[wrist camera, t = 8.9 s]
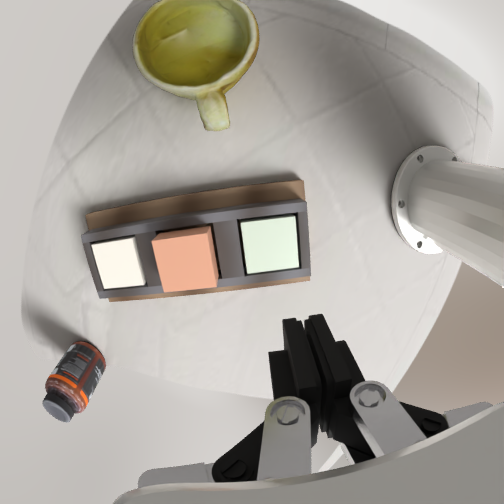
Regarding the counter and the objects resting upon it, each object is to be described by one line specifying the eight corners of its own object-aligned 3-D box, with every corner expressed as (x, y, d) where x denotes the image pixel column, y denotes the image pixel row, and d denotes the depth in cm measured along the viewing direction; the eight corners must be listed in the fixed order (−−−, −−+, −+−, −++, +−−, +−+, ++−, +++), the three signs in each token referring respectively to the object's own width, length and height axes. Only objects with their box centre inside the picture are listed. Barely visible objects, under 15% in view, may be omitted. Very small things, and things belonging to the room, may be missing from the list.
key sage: (290, 211, 25) (295, 216, 23) (294, 257, 27) (298, 267, 25) (240, 217, 26) (240, 223, 23) (246, 263, 27) (247, 273, 25)
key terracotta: (210, 225, 24) (206, 233, 21) (218, 275, 25) (216, 287, 23) (159, 233, 24) (151, 241, 21) (170, 280, 25) (164, 292, 23)
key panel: (300, 179, 26) (309, 182, 22) (307, 275, 29) (315, 290, 26) (90, 212, 26) (73, 220, 23) (113, 297, 29) (101, 312, 26)
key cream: (140, 231, 26) (132, 238, 23) (151, 274, 27) (144, 285, 25) (102, 238, 26) (91, 245, 23) (113, 279, 27) (104, 288, 25)
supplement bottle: (66, 337, 31) (27, 389, 20) (99, 340, 31) (62, 399, 21) (80, 369, 33) (50, 421, 22) (112, 373, 33) (85, 432, 22)
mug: (136, 22, 18) (134, -18, 10) (236, 19, 21) (278, -14, 13) (139, 133, 24) (134, 143, 16) (237, 123, 27) (279, 130, 19)
